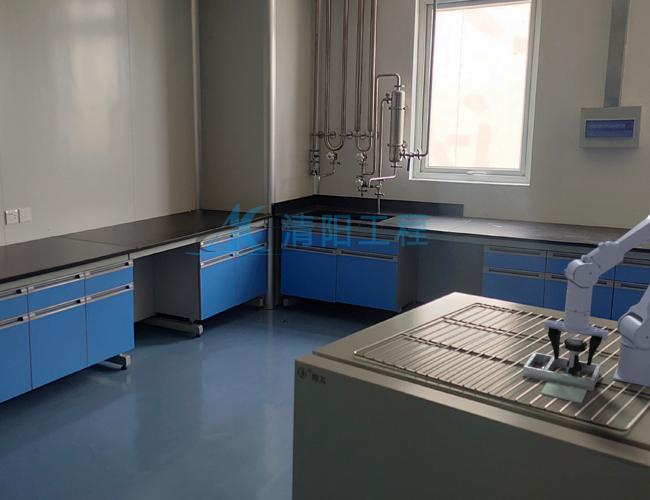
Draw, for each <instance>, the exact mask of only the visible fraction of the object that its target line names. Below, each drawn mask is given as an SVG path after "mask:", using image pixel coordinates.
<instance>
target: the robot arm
mask: <svg viewBox="0 0 650 500" xmlns="http://www.w3.org/2000/svg"><path fill="white" fill-rule="evenodd" d="M649 239H650V214H648V216H647V217H646V218H645V219H643V220H642V221H640V222H639V223H638V224H637V225H636V226H634V227H632V228H631V229H630V230H629V231H628V232H626V233H625V234H624V235H622V236H620V237H619V238H618V239H616V240H615V241H609V240H608V241H607V240H606V241H605V242H604V241H603V242H602V241H601V242H599V243H598V244H597V246H598V247H596V248H594V249H593V250H591V251H590V252H589V253H587V254H582V255H581V256H580V258H579V259H574V260H572V261H570V262H569V263H568V264H567V267H566V269H564V275H565V277H566V279H567V287H566V294H565V295H566V296H565V307H564V316H563V317H564V318H563V321H562V320H561V321H559V320H550V319H549V320H548V319H546V320H545V321H544V328H543V330H546V331H548V332H547V337H548V339H549V341H550V344H551V347H552V350H553V356H554V359H558V357H560V343H561V336H562V332H564V333H569V334H573V335H574V334H575V335H582V336H586V337H590V339H589V341H588V343H589V344H588V348H589V349H588V355H587V356H588V357H587V361H586V362H587V365H588V366H590V365H591V363H593V358H594V355H595V353H596V351H597V349H598V348H599V347H600V345H601V343H602V342H603V340H605V341H608V338H609V329H604V328H603V329H602V328H599V327H596V326H592V325H590V317H591V306H592V300H593V299H592V298H593V288H594V285H596V284H597V283H598V280H599V278H600V277H601V275H603V274H604V273H606V272H607V271H608V270H611V269H612V268H613V267H615V266H617V265H618V264H619V263H621V262H622V261H623V260H624V257H625V253H627V252H628V251H630V250H632V249H634V248H635V247H638V246H639V245H641V244H642V243H644V242H646V241H647V240H649ZM616 327H617V331H618V332H619V333H620V334H621V335H620V342H619V350H618V360H617V366H616V369H615V372H614V374H613V380H615V381H620V382H623V383H624V382H625V383H629V384H634V385H640V386H645V387H649V388H650V284H649V285H648V287H647V288H646V289H645V292H644V293H643V295H642V297H641V298H640V301H639V302H637V304H634V305H632V306H630V307H629V308H628V311H627V312H626V313H624V314H623V315H622V316H620V317H619V319H618V321H617V323H616Z"/></svg>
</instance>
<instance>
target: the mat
mask: <svg viewBox="0 0 650 500" xmlns="http://www.w3.org/2000/svg"><path fill="white" fill-rule="evenodd" d="M587 391H588V390H586V389H581V388H576V387H572V386H567V385H562V384H558V383H553V382H548V381H546V383H545V384H544V386H543V388H542V390H541V391H540V395H544V396H548V397H551V398H552V397H553V398H557V399H561V400H567V401H570V402H575V403H579V404H582V402H583V400H584V399H585V396H586V394H587V393H588V392H587Z"/></svg>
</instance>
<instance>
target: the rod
mask: <svg viewBox="0 0 650 500" xmlns="http://www.w3.org/2000/svg"><path fill="white" fill-rule="evenodd" d="M548 363H549V362H548V361H546V362H545V363H544V364H542V366H541V367H540V369H543V370H544V369H545V367H546V366H547V364H548Z"/></svg>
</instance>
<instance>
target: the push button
mask: <svg viewBox="0 0 650 500" xmlns="http://www.w3.org/2000/svg"><path fill="white" fill-rule="evenodd" d="M563 343H564V348H565V349H566V350H567V351H569V358H568V359H569V361H567V368H565V374H567V375H572V376H577V377H581V375H582V372H581V368H582V365H580V363H579V361H580V358H579V356H580V353H583V352H585V351H586V348H587V347H588V343H587V342H586V341H584V339H583V338H582V337H580V336H575V335H573V336H572V335H571V336H569V337H568V338H566V339H564V341H563Z"/></svg>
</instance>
